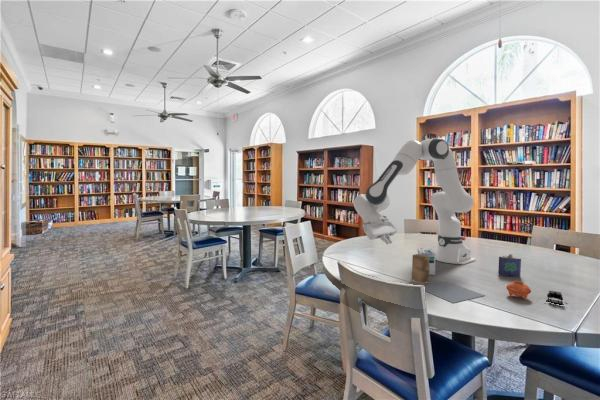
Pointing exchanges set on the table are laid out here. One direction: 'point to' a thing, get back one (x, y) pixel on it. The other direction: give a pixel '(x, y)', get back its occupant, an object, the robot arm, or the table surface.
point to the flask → (509, 266)
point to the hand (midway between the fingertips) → (389, 243)
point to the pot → (518, 289)
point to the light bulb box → (431, 259)
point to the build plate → (555, 295)
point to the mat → (451, 292)
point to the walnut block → (420, 268)
